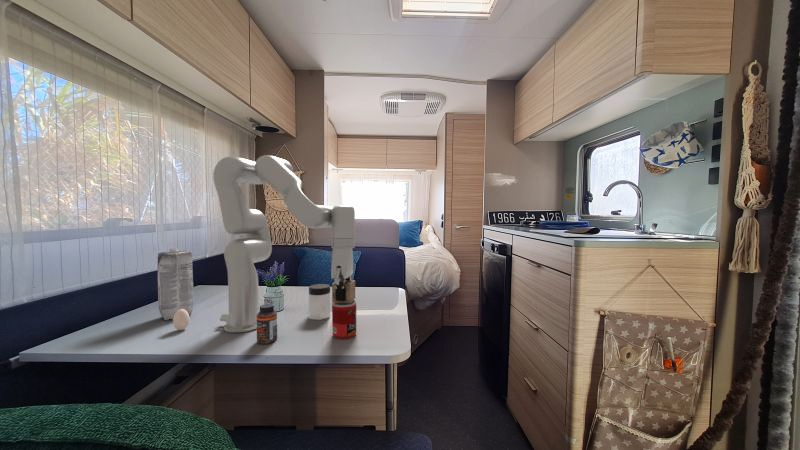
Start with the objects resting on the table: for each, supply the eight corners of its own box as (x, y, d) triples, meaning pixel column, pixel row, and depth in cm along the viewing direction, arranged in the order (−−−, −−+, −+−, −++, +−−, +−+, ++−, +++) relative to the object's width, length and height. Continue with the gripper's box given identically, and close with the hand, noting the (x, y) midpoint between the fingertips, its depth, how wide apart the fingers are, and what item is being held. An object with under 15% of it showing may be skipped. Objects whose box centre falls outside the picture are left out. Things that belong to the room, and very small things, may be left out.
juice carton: (195, 315, 120) (193, 248, 119) (161, 322, 112) (159, 250, 111) (189, 311, 126) (188, 246, 125) (157, 317, 118) (155, 249, 117)
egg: (169, 332, 102) (169, 311, 102) (179, 327, 107) (179, 307, 107) (183, 332, 102) (183, 311, 102) (193, 327, 107) (192, 306, 107)
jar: (314, 321, 112) (314, 289, 111) (304, 316, 118) (303, 286, 117) (335, 316, 118) (335, 285, 118) (324, 311, 124) (324, 282, 124)
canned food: (351, 340, 95) (351, 305, 94) (328, 338, 96) (327, 304, 96) (359, 331, 102) (359, 299, 102) (337, 329, 104) (337, 298, 104)
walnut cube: (332, 302, 96) (332, 284, 96) (338, 297, 102) (337, 280, 102) (350, 303, 96) (350, 284, 96) (355, 297, 102) (355, 280, 101)
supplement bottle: (252, 343, 93) (251, 307, 92) (265, 336, 98) (265, 302, 98) (268, 345, 91) (268, 308, 91) (281, 338, 97) (280, 303, 97)
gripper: (340, 241, 107) (340, 291, 108) (322, 245, 90) (323, 305, 91) (360, 241, 107) (361, 291, 107) (347, 246, 90) (347, 305, 90)
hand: (343, 297), depth 99 cm, fingers closed on walnut cube, 5 cm apart
